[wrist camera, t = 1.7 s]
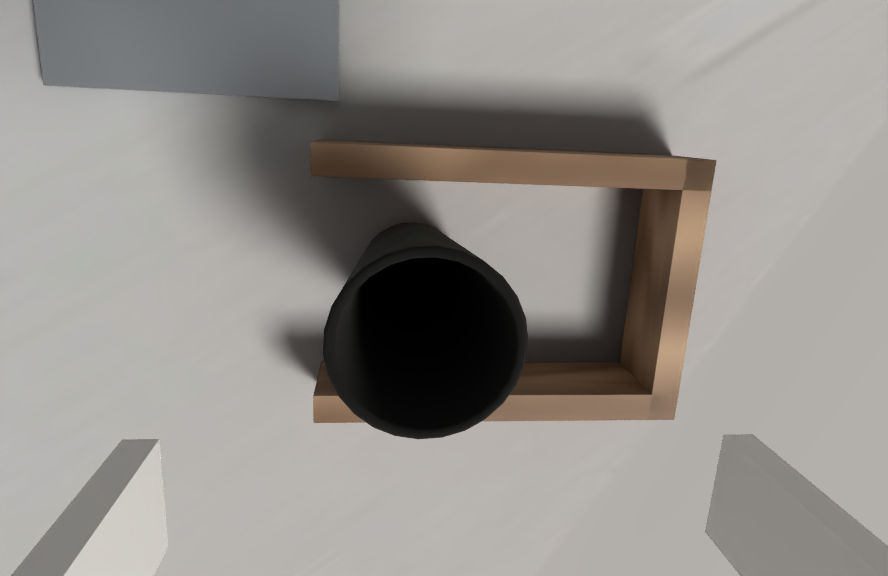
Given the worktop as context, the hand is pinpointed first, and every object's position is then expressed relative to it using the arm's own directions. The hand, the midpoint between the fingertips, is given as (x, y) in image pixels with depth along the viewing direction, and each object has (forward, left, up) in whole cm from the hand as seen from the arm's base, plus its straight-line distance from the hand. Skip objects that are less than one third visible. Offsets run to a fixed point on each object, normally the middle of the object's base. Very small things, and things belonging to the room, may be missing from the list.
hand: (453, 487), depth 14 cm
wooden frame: (0, +5, -21) cm, 21 cm away
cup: (0, 0, -21) cm, 21 cm away
